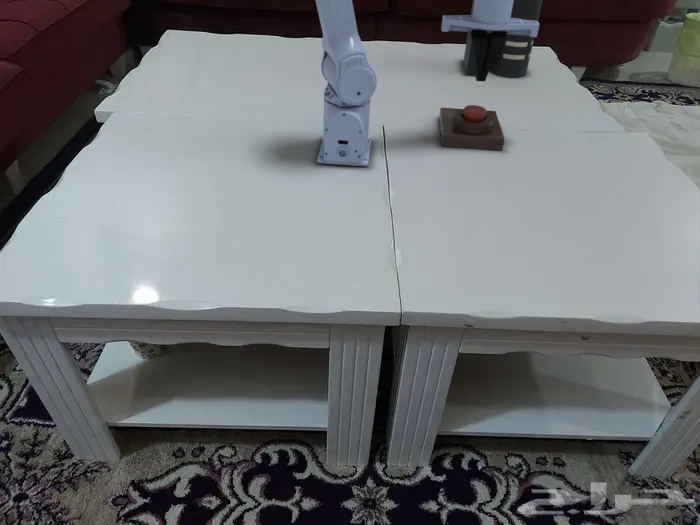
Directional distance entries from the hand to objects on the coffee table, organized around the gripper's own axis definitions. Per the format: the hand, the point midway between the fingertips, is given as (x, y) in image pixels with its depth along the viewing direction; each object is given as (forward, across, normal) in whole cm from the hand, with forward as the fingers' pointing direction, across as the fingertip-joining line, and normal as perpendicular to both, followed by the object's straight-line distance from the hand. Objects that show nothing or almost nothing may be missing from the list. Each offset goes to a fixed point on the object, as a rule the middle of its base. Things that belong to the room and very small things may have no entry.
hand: (480, 79), depth 93 cm
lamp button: (+7, 0, 0) cm, 7 cm away
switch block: (+10, 0, -2) cm, 11 cm away
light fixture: (+11, -9, -38) cm, 40 cm away
